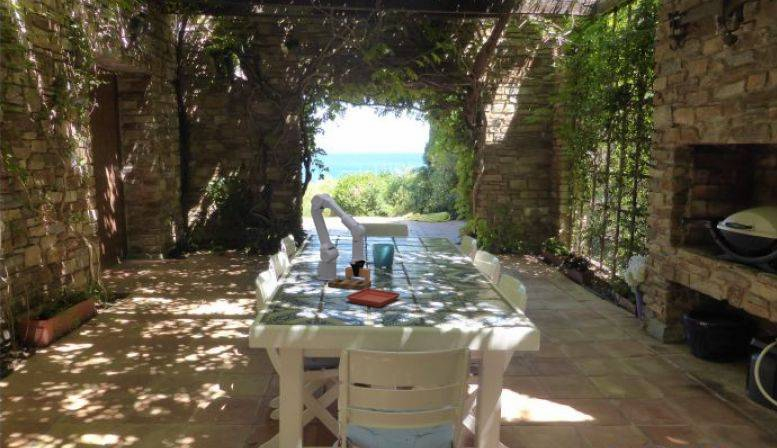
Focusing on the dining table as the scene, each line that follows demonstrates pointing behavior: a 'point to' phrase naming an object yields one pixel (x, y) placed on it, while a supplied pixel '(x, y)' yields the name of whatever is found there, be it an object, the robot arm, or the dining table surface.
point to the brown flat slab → (349, 284)
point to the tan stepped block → (362, 273)
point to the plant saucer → (373, 297)
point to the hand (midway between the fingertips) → (357, 275)
